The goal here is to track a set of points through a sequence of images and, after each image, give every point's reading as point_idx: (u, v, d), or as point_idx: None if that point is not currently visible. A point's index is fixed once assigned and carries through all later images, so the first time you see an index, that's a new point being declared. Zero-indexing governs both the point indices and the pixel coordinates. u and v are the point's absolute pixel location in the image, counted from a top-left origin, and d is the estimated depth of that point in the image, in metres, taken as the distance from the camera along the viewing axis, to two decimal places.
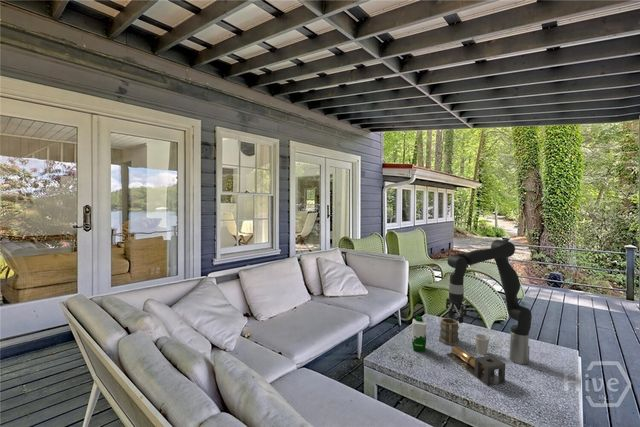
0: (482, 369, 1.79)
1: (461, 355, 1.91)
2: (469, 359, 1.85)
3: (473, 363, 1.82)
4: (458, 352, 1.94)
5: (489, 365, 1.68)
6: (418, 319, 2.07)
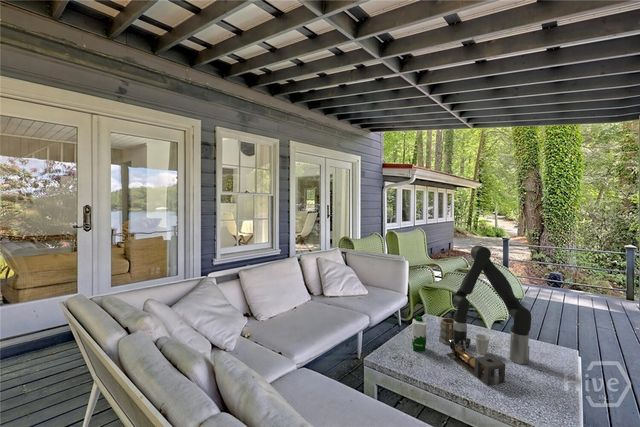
0: (482, 369, 1.79)
1: (461, 355, 1.91)
2: (469, 359, 1.85)
3: (473, 363, 1.82)
4: (458, 352, 1.94)
5: (489, 365, 1.68)
6: (418, 319, 2.07)
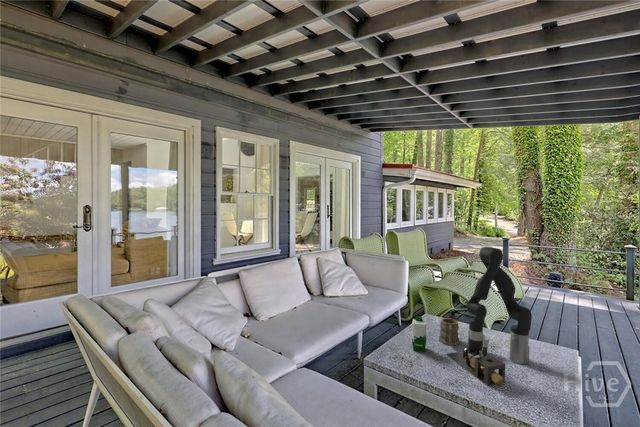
0: (501, 382, 1.67)
1: None
2: None
3: (491, 376, 1.69)
4: (473, 363, 1.81)
5: (489, 365, 1.68)
6: (418, 319, 2.07)
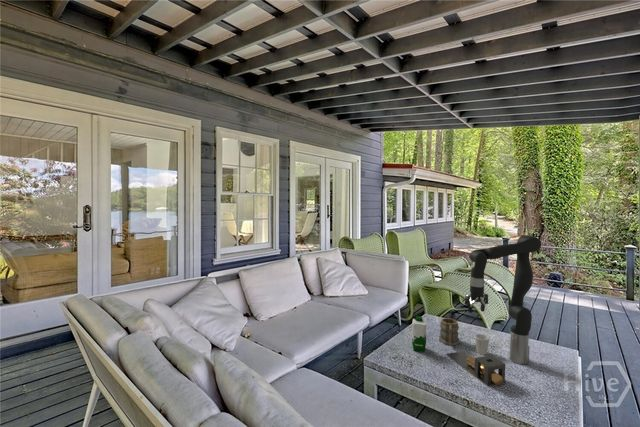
0: (500, 382, 1.67)
1: None
2: None
3: None
4: (473, 363, 1.81)
5: (489, 365, 1.68)
6: (418, 319, 2.07)
